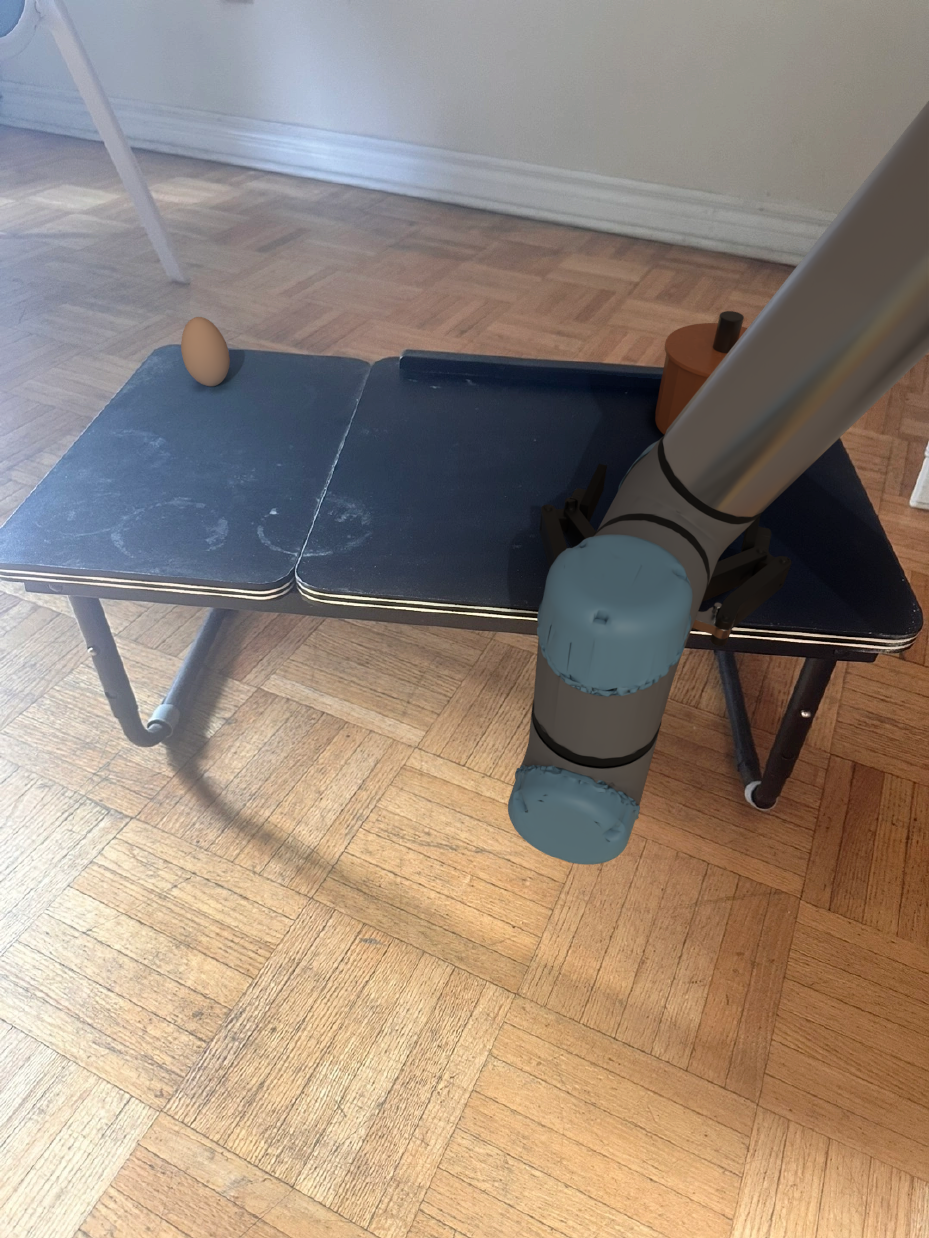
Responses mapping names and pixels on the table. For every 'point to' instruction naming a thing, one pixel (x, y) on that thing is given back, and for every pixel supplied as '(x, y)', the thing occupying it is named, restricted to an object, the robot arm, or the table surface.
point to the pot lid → (704, 343)
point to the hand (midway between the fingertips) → (676, 492)
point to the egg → (205, 352)
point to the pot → (675, 393)
